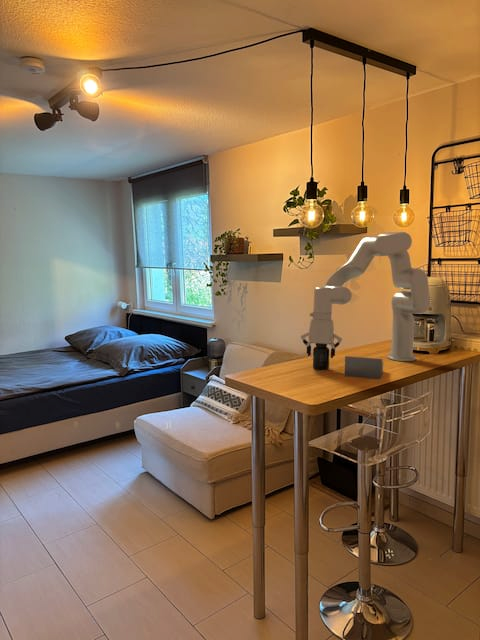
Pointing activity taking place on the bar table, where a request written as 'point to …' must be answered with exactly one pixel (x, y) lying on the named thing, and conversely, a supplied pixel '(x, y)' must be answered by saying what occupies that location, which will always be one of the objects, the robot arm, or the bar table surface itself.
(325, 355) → the supplement bottle
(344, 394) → the bar table surface
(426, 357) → the bar table surface
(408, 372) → the bar table surface
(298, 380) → the bar table surface
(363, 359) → the shelf block
